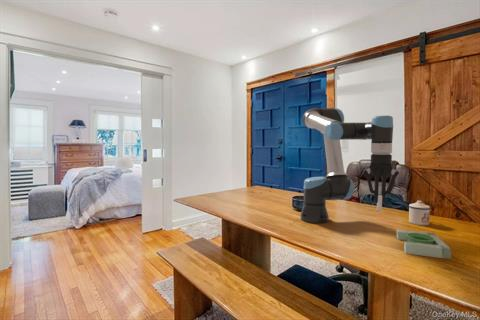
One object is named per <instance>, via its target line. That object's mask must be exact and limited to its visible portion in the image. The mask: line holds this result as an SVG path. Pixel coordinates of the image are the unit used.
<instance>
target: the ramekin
mask: <svg viewBox="0 0 480 320" xmlns="http://www.w3.org/2000/svg"><path fill="white" fill-rule="evenodd" d="M407 239H408V241H407V242H414V243H423V244H432V245H433V244H434V241H435V239H434V238H433V237H431V236H429V235H426V234H421V233H408V234H407Z"/></svg>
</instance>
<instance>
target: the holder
mask: <svg viewBox="0 0 480 320" xmlns="http://www.w3.org/2000/svg"><path fill="white" fill-rule="evenodd" d="M408 233H421V234H426V235H429V236H431V237H433V238H434V239H435V241H434V244H433V245H432V244H423V243H414V242H408V239H407V234H408ZM396 239H397V240H398V241H404V242H403V251H404V253H405V254H407V255H408V254H409V255H415V256H424V257H430V258H432V257H433V258H438V259H447V260H451V258H452V249H451V248H450V247H449V245H447V244H446V243H445V242H444V241H443V240H442V239H441V238H440V237H439V236H438V235H437V234H436V233H434V232H427V231H426V232H425V231H414V230H405V229H396Z"/></svg>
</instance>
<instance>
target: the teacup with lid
mask: <svg viewBox="0 0 480 320" xmlns="http://www.w3.org/2000/svg"><path fill="white" fill-rule="evenodd" d="M408 210H409V211H408V223H411V225H416V226H429V225H430V214H431V211H430V210H431V207H430V206H429V205H427V204H425V203H424V202H423V201H422V200H417V201H416V202H414V203H409V205H408Z"/></svg>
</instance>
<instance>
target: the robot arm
mask: <svg viewBox="0 0 480 320" xmlns="http://www.w3.org/2000/svg"><path fill="white" fill-rule="evenodd" d="M301 121H302V124H303V125H304V126H305V127H307V128H308V129H315V130H316V131H318V132H320V134H322V135H323V142H324V149H325V158H326V166H327V174H326V176H311V177H308V178H305V179H304V181H303V207H302V209H301V212H300V220H301V221H302V222H305V223H311V224H323V223H328V222H329V221H330V215H329V212H328V210H327V205H326V203H327V202H326V201H344V200H345V201H346V200H349V199H351V198H352V196H353V194H354V191H355V184H354V181H353V180H352V179H351V178H349V174H347V173H346V172H345V167H344V162H343V161H344V160H343V153H342V145H341V140H344V141H345V140H357V141H358V140H360V141H361V140H363V141H364V140H371V142H370V143H371V144H370V152H371V155H370V165H369V166H368V168H366V169H363V173H364V175H365V177H366V180H367V181H366V182H367V185H368V189H369V192H370V193H371V194H374V196H373V198H374V203H376V210H377V212H382V209H383V204H384V203H386V195H390V194H391V192H392V189H393V187H394V184H395V181H396V177H397V176H399V174H400V172H399V171H398V170H396V169H394V167H393V164H392V160H393V156H392V153H393V139H394V138H393V135H394V133H393V132H394V117H393V116H392V115H374V116H373V117H372V119H371V121H369V122H345V115H344V112H343V111H342V110H341V109H339V108H338V107H337V108H334V107H329V108H328V107H321V108H320V107H319V108H318V107H313V108H310V109H308V110H306V111H305V112H304V113H303V115H302V120H301ZM371 172H372V174H373V175H374V187H373V185H372V184H373V183H372V179H371V176H370V173H371ZM390 173H391V176H390V178H389V182H388V185H387V176H389V174H390ZM380 177H381V191H380V193H379V186H380V185H379V183H380ZM386 187H387V188H386Z"/></svg>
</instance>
